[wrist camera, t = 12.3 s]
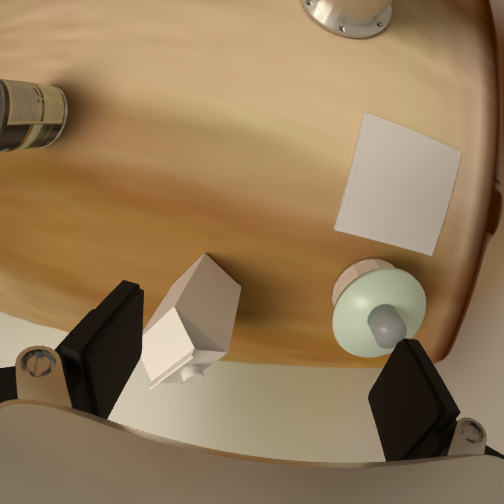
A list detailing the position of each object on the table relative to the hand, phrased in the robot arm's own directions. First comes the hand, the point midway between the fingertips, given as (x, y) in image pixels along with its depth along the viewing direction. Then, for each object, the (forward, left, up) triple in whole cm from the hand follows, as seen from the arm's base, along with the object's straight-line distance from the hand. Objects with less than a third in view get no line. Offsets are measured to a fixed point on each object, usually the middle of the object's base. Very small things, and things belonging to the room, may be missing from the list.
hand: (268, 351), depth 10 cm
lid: (+10, +17, -24) cm, 31 cm away
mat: (-6, +17, -30) cm, 35 cm away
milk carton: (+14, -6, -31) cm, 34 cm away
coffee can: (-7, -37, -31) cm, 48 cm away
